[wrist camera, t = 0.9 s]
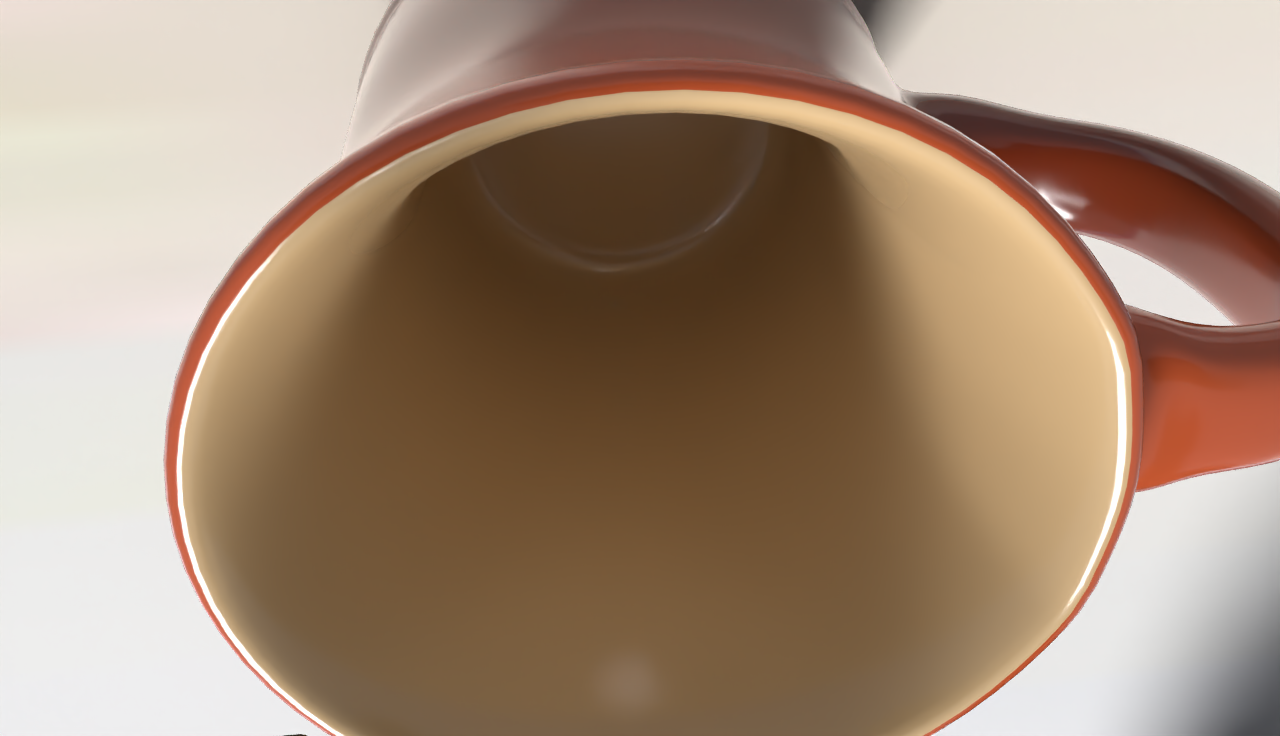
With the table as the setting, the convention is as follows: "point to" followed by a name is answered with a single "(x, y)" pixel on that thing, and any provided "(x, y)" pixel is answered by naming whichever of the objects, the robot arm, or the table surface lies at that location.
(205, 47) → the table surface
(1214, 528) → the table surface
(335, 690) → the mug
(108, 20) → the table surface
